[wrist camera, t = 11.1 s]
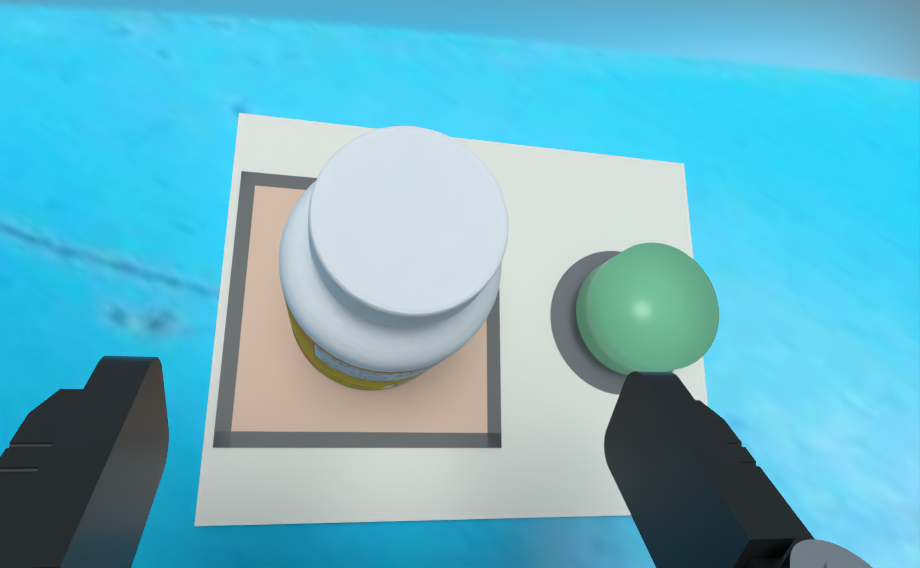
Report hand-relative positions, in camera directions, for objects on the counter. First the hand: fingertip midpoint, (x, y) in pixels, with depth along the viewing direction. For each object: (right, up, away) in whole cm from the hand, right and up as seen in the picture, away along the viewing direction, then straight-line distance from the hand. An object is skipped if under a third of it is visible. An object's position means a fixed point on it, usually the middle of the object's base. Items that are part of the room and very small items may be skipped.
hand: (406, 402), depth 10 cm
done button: (+7, +1, +12) cm, 14 cm away
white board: (+2, +1, +12) cm, 12 cm away
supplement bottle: (-2, +1, +11) cm, 11 cm away
